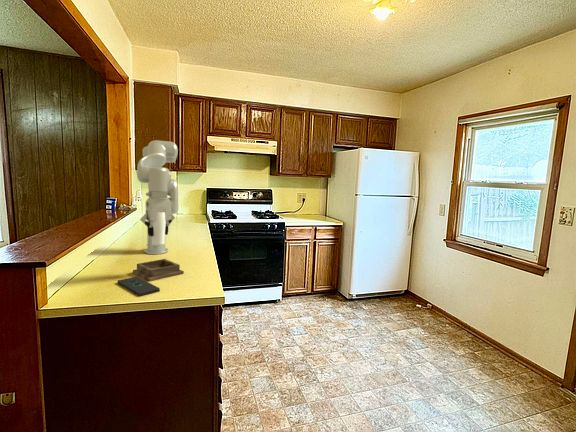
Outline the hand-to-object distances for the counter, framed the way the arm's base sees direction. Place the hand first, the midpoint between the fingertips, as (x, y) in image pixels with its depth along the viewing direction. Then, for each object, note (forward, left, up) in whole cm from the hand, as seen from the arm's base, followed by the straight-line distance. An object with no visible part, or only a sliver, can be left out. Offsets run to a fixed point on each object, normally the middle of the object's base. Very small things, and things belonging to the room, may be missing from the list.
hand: (158, 234), depth 139 cm
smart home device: (+11, -14, -19) cm, 26 cm away
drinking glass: (0, 0, -5) cm, 5 cm away
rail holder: (0, 0, -18) cm, 18 cm away
